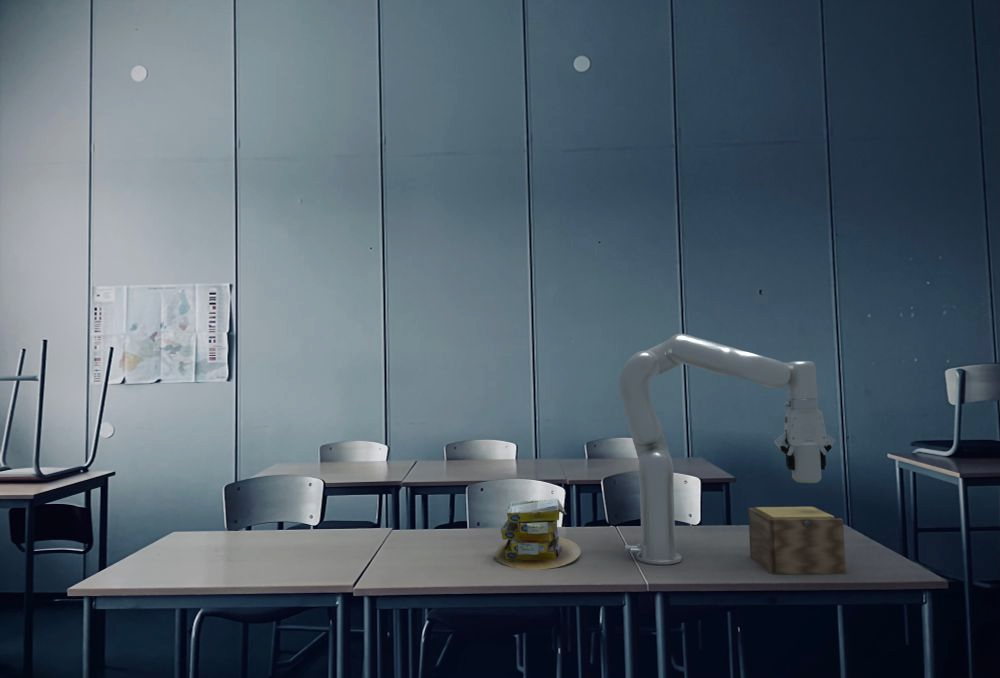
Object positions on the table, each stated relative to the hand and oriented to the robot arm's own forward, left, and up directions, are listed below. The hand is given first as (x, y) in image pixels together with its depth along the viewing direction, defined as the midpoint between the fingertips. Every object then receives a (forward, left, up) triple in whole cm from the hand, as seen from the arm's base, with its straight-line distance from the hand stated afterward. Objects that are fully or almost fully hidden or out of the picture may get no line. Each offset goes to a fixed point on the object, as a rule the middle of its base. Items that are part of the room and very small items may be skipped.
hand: (806, 469), depth 187 cm
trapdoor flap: (-4, 0, -13) cm, 13 cm away
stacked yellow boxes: (-75, +10, -26) cm, 80 cm away
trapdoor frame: (-4, 0, -26) cm, 26 cm away
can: (0, 0, -4) cm, 4 cm away
